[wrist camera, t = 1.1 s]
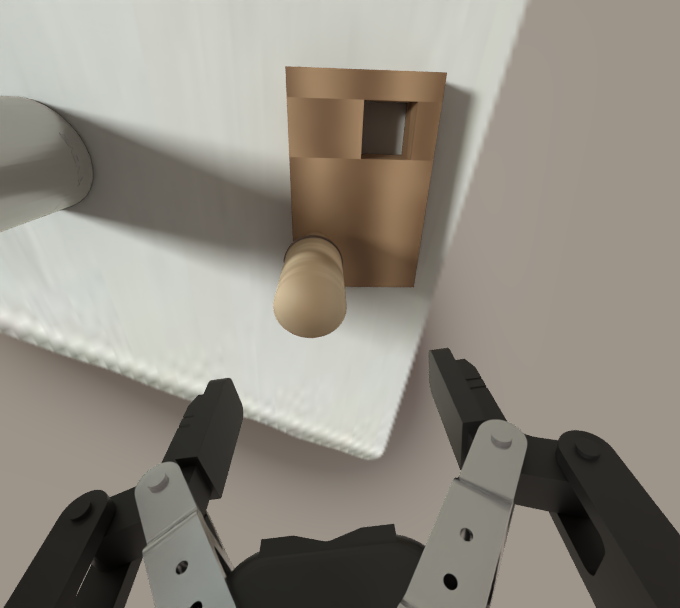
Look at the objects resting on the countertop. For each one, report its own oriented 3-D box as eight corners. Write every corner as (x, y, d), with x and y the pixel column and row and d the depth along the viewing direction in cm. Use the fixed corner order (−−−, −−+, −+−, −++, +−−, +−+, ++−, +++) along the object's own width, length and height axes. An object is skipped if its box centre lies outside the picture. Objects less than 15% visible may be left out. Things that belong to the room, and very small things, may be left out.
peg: (289, 272, 33) (274, 339, 23) (286, 221, 30) (268, 273, 21) (340, 272, 33) (346, 339, 23) (341, 222, 30) (349, 274, 21)
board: (298, 269, 37) (295, 286, 33) (290, 72, 28) (285, 66, 24) (405, 270, 37) (413, 287, 34) (432, 77, 28) (446, 72, 25)
